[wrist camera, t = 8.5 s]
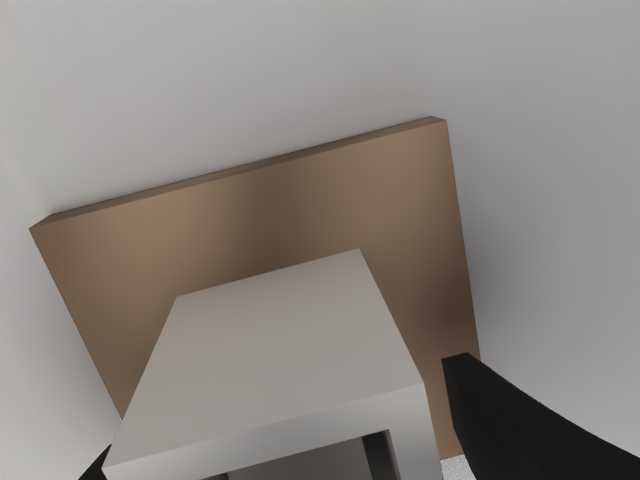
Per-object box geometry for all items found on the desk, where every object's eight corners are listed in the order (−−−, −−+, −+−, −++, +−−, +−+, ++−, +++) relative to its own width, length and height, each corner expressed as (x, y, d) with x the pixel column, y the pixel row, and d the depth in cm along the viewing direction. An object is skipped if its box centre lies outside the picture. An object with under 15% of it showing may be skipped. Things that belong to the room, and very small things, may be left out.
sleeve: (359, 248, 13) (423, 383, 7) (394, 397, 15) (467, 598, 9) (177, 296, 13) (100, 468, 7) (233, 440, 15) (209, 667, 9)
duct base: (431, 116, 13) (539, 145, 8) (478, 421, 17) (572, 582, 12) (49, 215, 13) (-107, 313, 8) (182, 499, 17) (139, 696, 12)
